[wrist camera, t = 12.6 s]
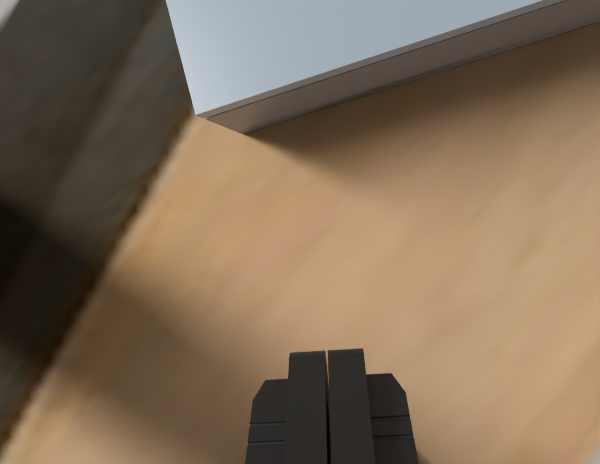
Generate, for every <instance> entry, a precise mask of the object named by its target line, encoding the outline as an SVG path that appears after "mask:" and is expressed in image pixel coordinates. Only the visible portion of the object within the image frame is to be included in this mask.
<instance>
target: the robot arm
mask: <svg viewBox="0 0 600 464" xmlns="http://www.w3.org/2000/svg"><path fill="white" fill-rule="evenodd" d="M328 371H329V384H328V373H327V362H326V353H325V351H312V352H294V353H290V356H289V374H288V379H278V380H265V382H264V383H263V385H262V387H261V388H260V390H259V391H258V393H257V395H256V396H255V398H254V399H253V404H252V412H251V420H250V429H249V437H248V447H247V454H246V462H245V464H418V458H417V453H416V447H415V442H414V438H413V431H412V425H411V420H410V414H409V409H408V403H407V398H406V392H405V391H404V390H403V388H402V387H401V386H400V384H399V383H398V382H397V380H396V379H395V377H394V376H393V375H392V373H387V374H368V375H366V370H365V361H364V352H363V348H362V349H344V350H328Z"/></svg>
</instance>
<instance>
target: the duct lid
mask: <svg viewBox="0 0 600 464" xmlns="http://www.w3.org/2000/svg"><path fill="white" fill-rule="evenodd" d="M561 1H564V0H166V3H167V6H168V10H169V14H170V18H171V22H172V26H173V29H174V33H175V37H176V41H177V45H178V49H179V53H180V56H181V60H182V64H183V68H184V72H185V76H186V79H187V83H188V87H189V91H190V95H191V99H192V103H193V106H194V110H195V114H196V115H197V116H199V117H202V118H207V117H210V116H213V115H216V114H219V113H222V112H225V111H228V110H231V109H234V108H237V107H240V106H243V105H246V104H249V103H252V102H255V101H258V100H262V99H265V98H268V97H271V96H274V95H277V94H280V93H283V92H286V91H289V90H292V89H295V88H298V87H301V86H304V85H307V84H310V83H313V82H316V81H320V80H323V79H326V78H329V77H332V76H335V75H338V74H341V73H344V72H347V71H350V70H353V69H356V68H359V67H362V66H365V65H368V64H371V63H375V62H378V61H381V60H384V59H387V58H390V57H393V56H396V55H399V54H402V53H405V52H408V51H411V50H414V49H417V48H420V47H423V46H426V45H429V44H433V43H436V42H439V41H442V40H445V39H448V38H451V37H454V36H457V35H460V34H463V33H466V32H469V31H472V30H475V29H478V28H481V27H484V26H488V25H491V24H494V23H497V22H500V21H503V20H506V19H509V18H512V17H515V16H518V15H521V14H524V13H527V12H530V11H533V10H536V9H539V8H542V7H546V6H549V5H552V4H555V3H558V2H561Z"/></svg>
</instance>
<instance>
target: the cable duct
mask: <svg viewBox="0 0 600 464" xmlns="http://www.w3.org/2000/svg"><path fill="white" fill-rule="evenodd" d="M596 22H600V0H564V1H561V2H558V3H555V4H552V5H549V6H546V7H542V8H539V9H536V10H533V11H530V12H527V13H524V14H521V15H518V16H515V17H512V18H509V19H506V20H503V21H500V22H497V23H494V24H491V25H488V26H484V27H481V28H478V29H475V30H472V31H469V32H466V33H463V34H460V35H457V36H454V37H451V38H448V39H445V40H442V41H439V42H436V43H433V44H429V45H426V46H423V47H420V48H417V49H414V50H411V51H408V52H405V53H402V54H399V55H396V56H393V57H390V58H387V59H384V60H381V61H378V62H375V63H371V64H368V65H365V66H362V67H359V68H356V69H353V70H350V71H347V72H344V73H341V74H338V75H335V76H332V77H329V78H326V79H323V80H320V81H316V82H313V83H310V84H307V85H304V86H301V87H298V88H295V89H292V90H289V91H286V92H283V93H280V94H277V95H274V96H271V97H268V98H265V99H262V100H258V101H255V102H252V103H249V104H246V105H243V106H240V107H237V108H234V109H231V110H228V111H225V112H222V113H219V114H216V115H213V116H210V117H207V118H205V119H206V120H209V121H211V122H214V123H216V124H219V125H221V126H224V127H226V128H229V129H231V130H234V131H236V132H239V133H241V134H245V133H248V132H251V131H255V130H258V129H261V128H264V127H267V126H270V125H274V124H277V123H280V122H283V121H286V120H289V119H293V118H296V117H299V116H302V115H305V114H308V113H312V112H315V111H318V110H321V109H324V108H327V107H331V106H334V105H337V104H340V103H343V102H346V101H350V100H353V99H356V98H359V97H362V96H365V95H369V94H372V93H375V92H378V91H381V90H384V89H388V88H391V87H394V86H397V85H400V84H403V83H407V82H410V81H413V80H416V79H419V78H422V77H425V76H429V75H432V74H435V73H438V72H441V71H444V70H448V69H451V68H454V67H457V66H460V65H463V64H467V63H470V62H473V61H476V60H479V59H482V58H486V57H489V56H492V55H495V54H498V53H501V52H505V51H508V50H511V49H514V48H517V47H520V46H524V45H527V44H530V43H533V42H536V41H539V40H543V39H546V38H549V37H552V36H555V35H558V34H562V33H565V32H568V31H571V30H574V29H577V28H581V27H584V26H587V25H590V24H593V23H596Z"/></svg>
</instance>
